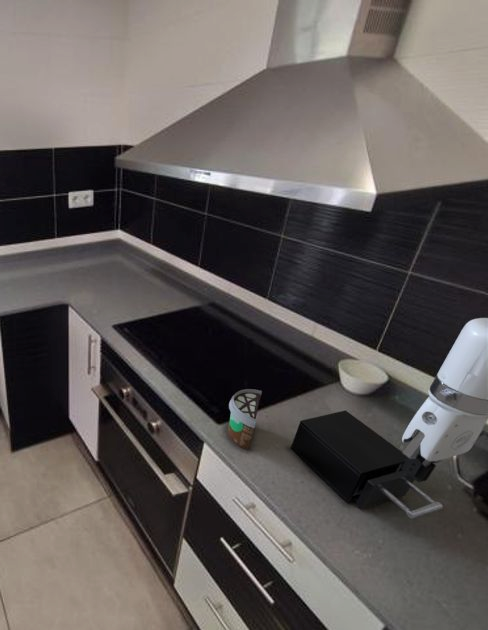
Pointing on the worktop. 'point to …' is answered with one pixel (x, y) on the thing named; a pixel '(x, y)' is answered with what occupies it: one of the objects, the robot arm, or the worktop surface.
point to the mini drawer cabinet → (343, 451)
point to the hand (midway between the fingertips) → (413, 474)
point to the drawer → (391, 491)
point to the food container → (243, 416)
